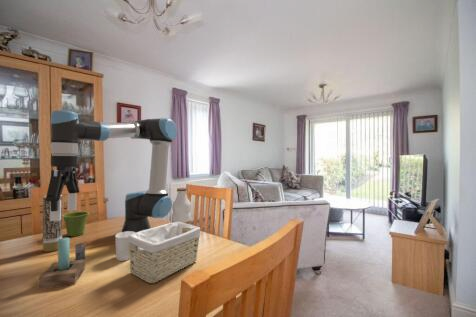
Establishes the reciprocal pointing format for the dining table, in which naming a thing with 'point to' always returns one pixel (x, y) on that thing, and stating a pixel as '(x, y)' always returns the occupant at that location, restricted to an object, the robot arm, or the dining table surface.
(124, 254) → the white cup
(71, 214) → the plant pot
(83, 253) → the short pin
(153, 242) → the storage basket
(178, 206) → the fruit juice
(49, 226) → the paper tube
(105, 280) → the dining table surface
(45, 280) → the hole block
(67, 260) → the long pin
